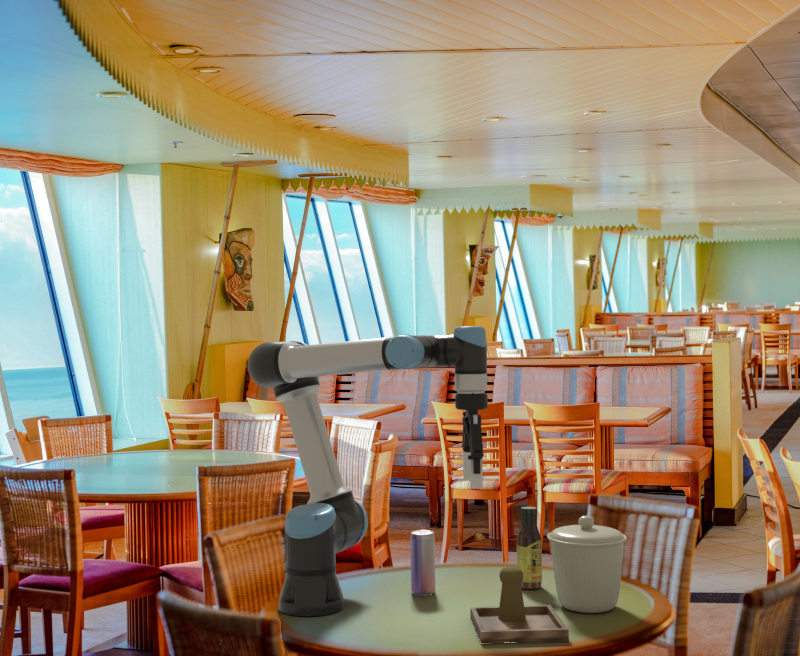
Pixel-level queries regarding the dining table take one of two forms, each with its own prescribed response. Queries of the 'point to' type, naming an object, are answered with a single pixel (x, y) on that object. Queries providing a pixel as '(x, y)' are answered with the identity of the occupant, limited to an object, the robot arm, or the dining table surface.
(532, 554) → the sauce bottle
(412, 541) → the beverage can
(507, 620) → the brown tapered upright piece
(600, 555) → the canister
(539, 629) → the tray
